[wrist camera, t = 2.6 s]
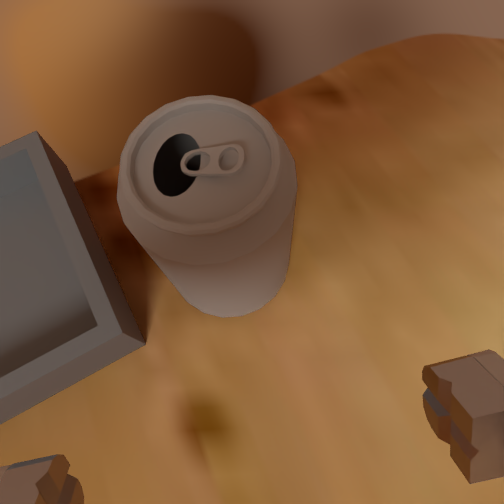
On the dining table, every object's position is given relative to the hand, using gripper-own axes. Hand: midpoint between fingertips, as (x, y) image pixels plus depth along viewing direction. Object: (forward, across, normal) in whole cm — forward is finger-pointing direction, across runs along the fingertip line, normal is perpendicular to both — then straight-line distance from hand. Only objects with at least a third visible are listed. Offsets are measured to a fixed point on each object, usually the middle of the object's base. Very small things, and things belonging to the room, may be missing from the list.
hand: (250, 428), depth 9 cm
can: (+17, 0, +4) cm, 18 cm away
